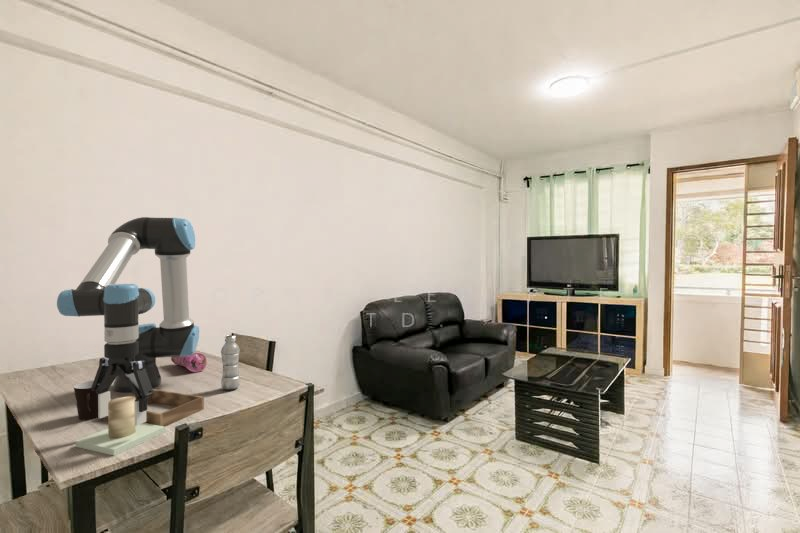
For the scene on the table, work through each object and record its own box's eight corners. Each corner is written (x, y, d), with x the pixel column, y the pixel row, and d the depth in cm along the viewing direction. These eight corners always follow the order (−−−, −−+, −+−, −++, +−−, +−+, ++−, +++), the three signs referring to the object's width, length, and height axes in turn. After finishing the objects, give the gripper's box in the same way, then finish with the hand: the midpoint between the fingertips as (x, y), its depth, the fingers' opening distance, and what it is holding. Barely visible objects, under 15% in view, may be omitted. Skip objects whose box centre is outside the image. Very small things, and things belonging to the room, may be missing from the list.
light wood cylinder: (102, 436, 102) (102, 402, 102) (125, 427, 108) (125, 395, 108) (118, 440, 101) (118, 405, 100) (140, 430, 106) (140, 398, 106)
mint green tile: (75, 446, 100) (75, 440, 100) (129, 425, 113) (129, 419, 113) (114, 455, 95) (114, 449, 95) (164, 432, 109) (164, 426, 109)
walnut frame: (105, 418, 118) (105, 405, 118) (152, 400, 133) (152, 389, 133) (160, 428, 111) (160, 414, 111) (203, 409, 126) (203, 396, 126)
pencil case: (168, 366, 177) (168, 346, 177) (190, 362, 184) (190, 343, 183) (186, 375, 162) (186, 354, 162) (209, 370, 169) (209, 350, 169)
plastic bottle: (244, 387, 147) (243, 335, 147) (229, 392, 141) (229, 338, 141) (231, 385, 150) (231, 333, 150) (216, 390, 144) (216, 336, 143)
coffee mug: (87, 411, 124) (87, 380, 123) (115, 410, 124) (115, 379, 124) (58, 426, 112) (58, 392, 112) (90, 425, 113) (89, 391, 112)
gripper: (74, 340, 104) (75, 418, 105) (142, 347, 96) (142, 432, 97) (103, 335, 112) (104, 408, 112) (169, 342, 104) (169, 420, 104)
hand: (122, 419), depth 104 cm, fingers open, 13 cm apart
